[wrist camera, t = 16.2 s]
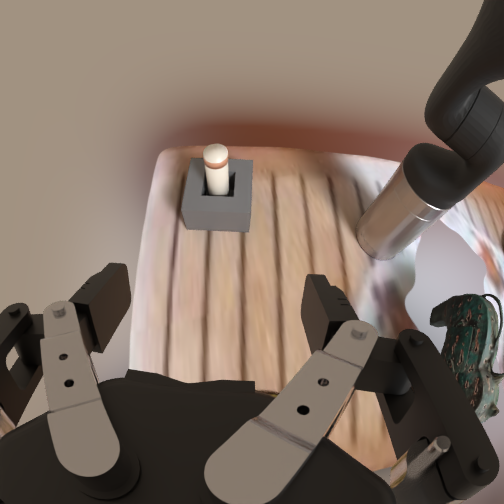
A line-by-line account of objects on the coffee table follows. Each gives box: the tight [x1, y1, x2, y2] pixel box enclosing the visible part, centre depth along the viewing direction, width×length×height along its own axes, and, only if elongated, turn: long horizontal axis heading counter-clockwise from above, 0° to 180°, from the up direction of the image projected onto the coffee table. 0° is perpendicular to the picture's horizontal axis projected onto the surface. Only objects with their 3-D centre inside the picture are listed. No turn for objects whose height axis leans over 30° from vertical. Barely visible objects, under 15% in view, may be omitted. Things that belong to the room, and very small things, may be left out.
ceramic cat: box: [414, 294, 504, 423], centre depth 29 cm, size 20×6×20 cm, turn 158°
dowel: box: [203, 144, 229, 197], centre depth 41 cm, size 3×3×12 cm
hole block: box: [181, 158, 253, 232], centre depth 44 cm, size 10×10×6 cm
